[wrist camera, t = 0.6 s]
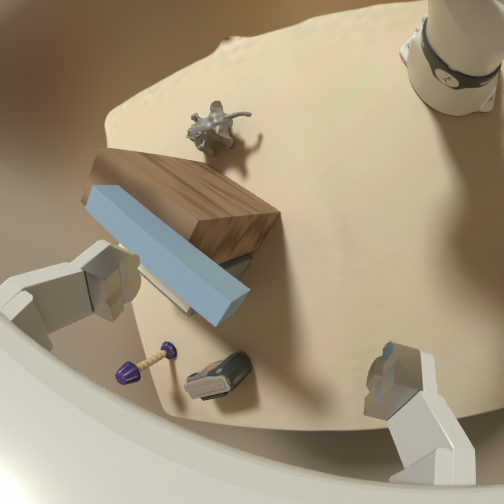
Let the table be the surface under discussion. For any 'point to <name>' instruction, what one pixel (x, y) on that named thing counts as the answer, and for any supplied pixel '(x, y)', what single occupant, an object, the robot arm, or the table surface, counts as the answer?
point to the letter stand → (231, 266)
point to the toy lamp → (143, 365)
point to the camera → (219, 377)
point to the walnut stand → (188, 200)
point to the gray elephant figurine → (213, 128)
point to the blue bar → (167, 254)
